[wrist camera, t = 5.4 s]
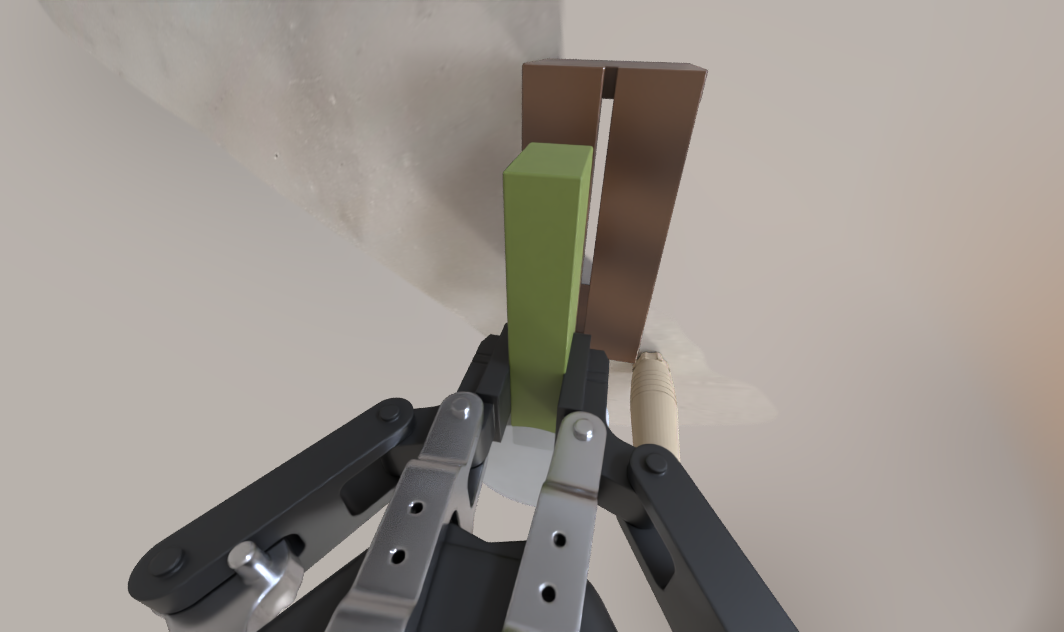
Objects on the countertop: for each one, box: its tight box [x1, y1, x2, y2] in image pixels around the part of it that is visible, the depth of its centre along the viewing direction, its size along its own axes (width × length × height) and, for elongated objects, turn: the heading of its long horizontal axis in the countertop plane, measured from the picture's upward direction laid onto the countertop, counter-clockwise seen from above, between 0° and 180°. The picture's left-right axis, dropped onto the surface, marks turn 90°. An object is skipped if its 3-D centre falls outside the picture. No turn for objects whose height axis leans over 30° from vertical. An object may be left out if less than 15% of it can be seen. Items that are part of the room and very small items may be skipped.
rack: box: [522, 59, 708, 363], centre depth 26 cm, size 18×9×8 cm, turn 179°
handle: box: [630, 352, 680, 462], centre depth 32 cm, size 5×6×15 cm
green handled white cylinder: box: [483, 142, 609, 507], centre depth 14 cm, size 14×6×3 cm, turn 179°
